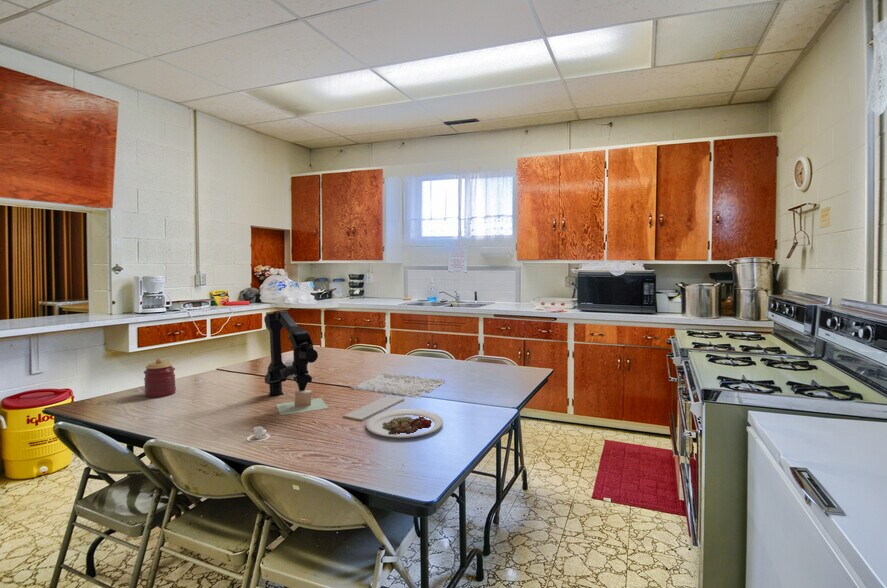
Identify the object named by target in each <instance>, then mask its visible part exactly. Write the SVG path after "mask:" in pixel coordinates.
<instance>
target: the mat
mask: <svg viewBox="0 0 887 588" xmlns="http://www.w3.org/2000/svg"><path fill="white" fill-rule="evenodd" d="M275 406H276V409H277V410H278V412H279V415H280V416H286V415H292V414H299V413H304V412H306V413H307V412H313V411H319V410H329V406H328V405H327V403H325V401H324V400H323V398H321V397H319V398H311V405H305V406H298V407H294V401H290V402H288V401H287V402H283V403H277V404H276V403H275Z"/></svg>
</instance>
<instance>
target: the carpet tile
mask: <svg viewBox="0 0 887 588" xmlns="http://www.w3.org/2000/svg"><path fill="white" fill-rule="evenodd" d="M445 381H446V379H445V380H444V379H442V378H440V379H439V378H429V377H424V378H423V377H419V376H413V375H412V376H410V375H403V374H402V375H395V374H394V375H393V374H388V373H381V374H378V375H375V376H374V377H372V378H371V379H370V378H369V379H368V380H364V381H363V382H361V383H358V384H356V385H352V386H350V389H351V390H355V391H364V392H370V393H377V394H378V393H379V394H384V395H389V394H390V395H392V394H395V395H396V396H400V397H401V396H402V397H408V398H409V397H410V398H416V397H421V398H422V396H418V395H423V394H422V393H426V395H428V394H429V393H430V392H429V391H431V390H433V389H434V388H436V387H437V388H439V387H440V386H442V385H443V384H442V383H444V382H445ZM445 383H446V382H445ZM445 383H444V384H445ZM435 384H437V385H435ZM441 384H442V385H441ZM439 385H440V386H439ZM438 386H439V387H438ZM432 388H433V389H432ZM437 388H436V389H437ZM434 390H435V389H434ZM434 390H433V391H434ZM424 391H425V392H424ZM428 392H429V393H428ZM431 392H432V391H431ZM419 393H420V394H419ZM427 393H428V394H427ZM395 395H394V396H395Z"/></svg>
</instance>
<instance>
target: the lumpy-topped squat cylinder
mask: <svg viewBox="0 0 887 588" xmlns="http://www.w3.org/2000/svg"><path fill="white" fill-rule="evenodd" d="M293 361H294V360H292V359H288V360H286V361H285V362H283V364H284V365H286V367H288V366H291V365H292V362H293ZM294 377H295V375H294V374H293V375H290V376H288V377H287V378H286V379H293V378H294Z"/></svg>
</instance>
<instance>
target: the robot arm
mask: <svg viewBox="0 0 887 588" xmlns="http://www.w3.org/2000/svg"><path fill="white" fill-rule="evenodd" d="M263 321H264V323H265V324H264V325H265V327H266V330H268V331H269V343H270V344H269V345H270V363H269V365H268V366H267V373H266V375H265V377H264V383H265V384H266V385H269V392H268V393H267V395H268V396H269V398H270V397H279V396H284V395H285V393H284V392H283V382H284V383H285V382H287V379H288V378H287V377H288V376H290V375H293V374H294V375H295V377H294V378H292V379H293V381H294V382H295V383H296V384H297V387H298V391H304V390H306V387H307V385H308V383H312V382H313V378H312V376H311V375H310V374H309V370H308V365H309V364H311V363H314V362H316V361H317V359H318V356H319V354H318V351H317V350H315V349H314V343H313V340H312V338H311V336H310V334H309V332H308V331H307V329H305V328H303V327H301V326H299V325H298V324H297V323H296V322H295V320H294V319H293V318H292V317H291V315H290V314H289V312H288V310H277V311H275V312H272V313H271V312H270V313H266V315H265V316H264V320H263ZM283 328H284V329H285V330H286V331H287V333H288V335H289V336H288V338H289V342H290V343H291V344H292V346H291V349H292V350H293V360H292V361H293V362H292V365H291V366H288V367H286V365H284V362H283V356H282V340H281V339H282V337H281V336H282V335H281V331H282V329H283Z"/></svg>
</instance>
